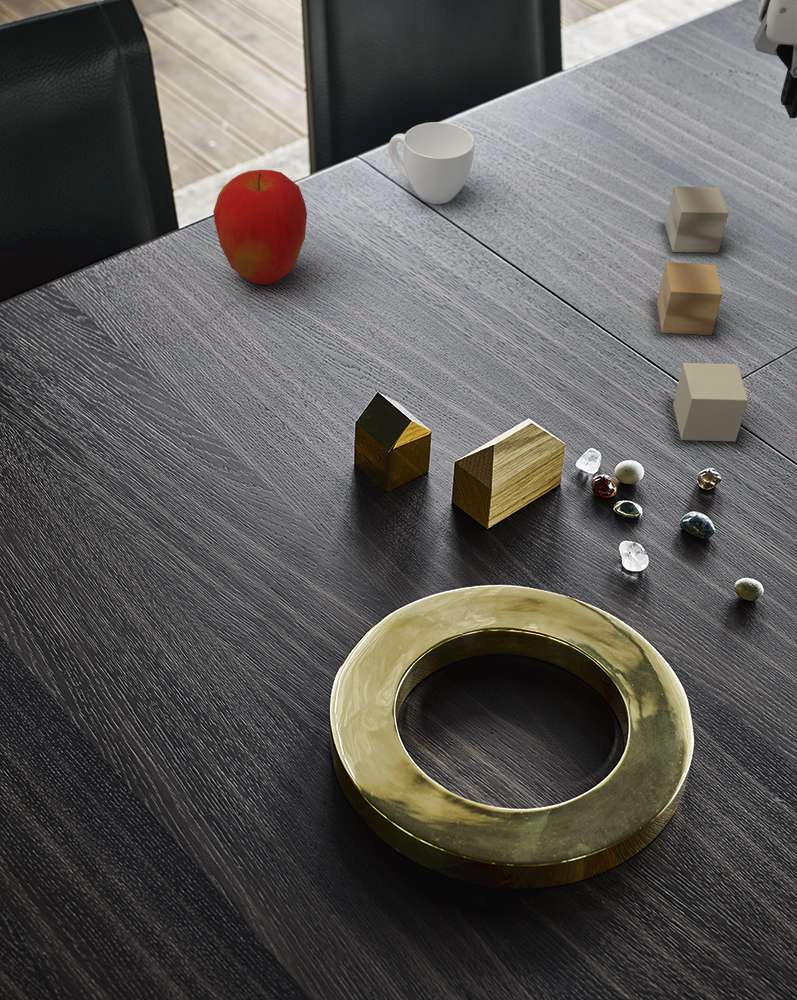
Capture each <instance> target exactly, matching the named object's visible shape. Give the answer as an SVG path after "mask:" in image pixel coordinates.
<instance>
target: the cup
mask: <svg viewBox="0 0 797 1000" xmlns="http://www.w3.org/2000/svg"><path fill="white" fill-rule="evenodd" d="M399 143H400V144H402V148H403V149H402V152H403V153H402V158H403V159H401V157H400V155H399V152H398V144H399ZM475 143H476V141H475V137H474V136H473V134H472V133H471V132H470V131H468V130H467V129H465V128H464V127H462V126H460V125H456V124H453V123H450V122H441V121H433V122H431V121H430V122H424V123H421V124H417V125H415V126H413V127H411V128H410V129H408V130H407V131H406V132H405V133H396V134H394V135H393V136H392V137H391V139H390V140H389V143H388V146H387V150H388V157H389V159H390V161H391V163H392V164H393V166H394V167H395V169H396V170H397V172H399V173H400V175H401V176H402V177H404V178H405V179H406V180H408V182H409V185H410V186H411V188H412V189H413V191H414V193H415V194H416V195H417V197H418V198H419V199H420V201H423V202H424V203H428V204H431V205H444V204H447V203H449V202H451V201H452V200H453V199H454V198H455V197H456V196H457V195H458V194H459V193H460V192H461V190H462V189H463V187H464V186H465V184H466V182H467V180H468V178H469V176H470V174H471V171H472V167H473V164H474V163H473V162H474V157H475V156H474V155H475V145H476V144H475Z"/></svg>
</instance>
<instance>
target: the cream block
mask: <svg viewBox="0 0 797 1000" xmlns="http://www.w3.org/2000/svg"><path fill="white" fill-rule="evenodd" d="M745 387H746V386H745V384H744V381H743V377H742V374H741V371H740V367H739V364H738V363H710V362H709V363H708V362H707V363H706V362H705V363H703V362H683V363H682V366H681V371H680V374H679V379H678V382H677V387H676V389H675V395H674V398H673V402H672V406H673V410H674V415H675V419H676V423H677V428H678V432H679V437H680V440H681V441H699V442H701V441H702V442H734V443H735V442H736V441H737V439H738V435H739V432H740V429H741V426H742V422H743V418H744V415H745V412H746V408H747V406H748V402H749V397H748V394H747V390H746V388H745Z"/></svg>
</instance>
